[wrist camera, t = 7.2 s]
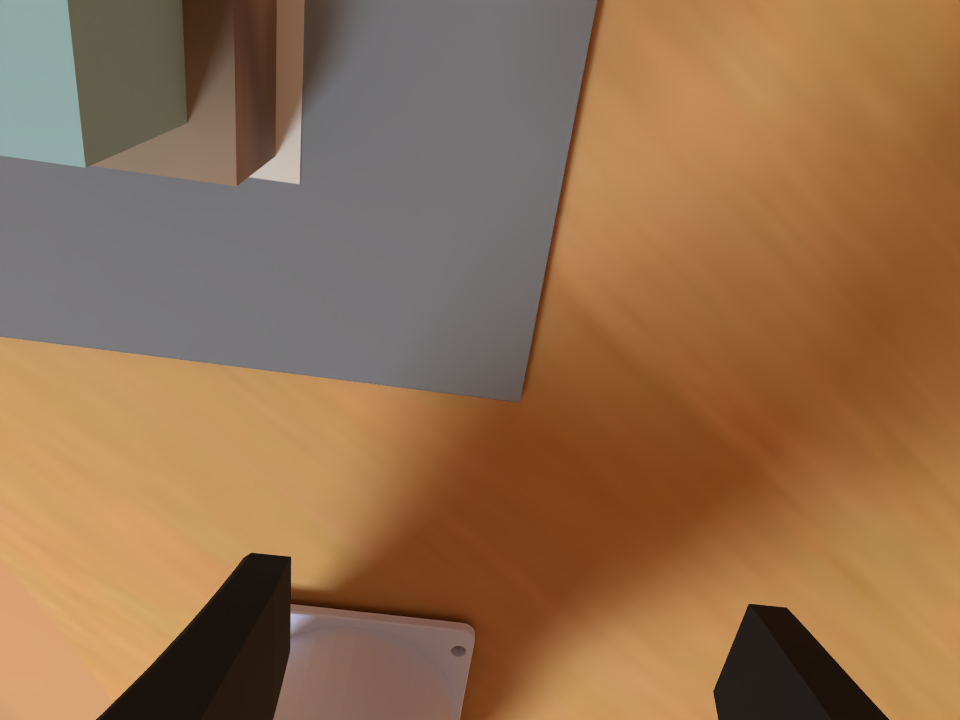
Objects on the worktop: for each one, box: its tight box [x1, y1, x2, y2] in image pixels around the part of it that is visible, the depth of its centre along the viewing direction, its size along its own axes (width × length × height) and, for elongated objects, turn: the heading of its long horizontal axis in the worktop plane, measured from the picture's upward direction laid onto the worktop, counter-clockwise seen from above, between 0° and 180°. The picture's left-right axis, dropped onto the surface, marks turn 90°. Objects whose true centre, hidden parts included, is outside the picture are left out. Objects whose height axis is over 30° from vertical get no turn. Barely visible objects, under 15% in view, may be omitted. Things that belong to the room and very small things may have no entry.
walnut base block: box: [91, 0, 277, 186], centre depth 14 cm, size 6×6×3 cm
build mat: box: [0, 0, 597, 402], centre depth 17 cm, size 14×16×1 cm
